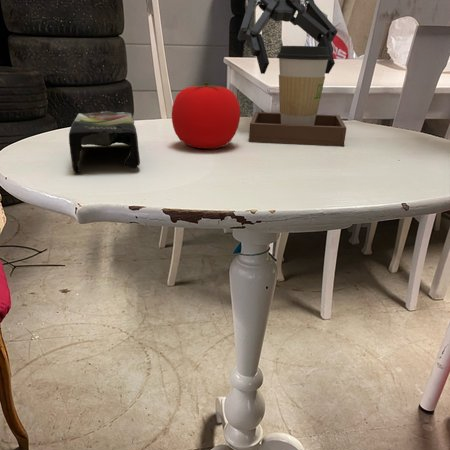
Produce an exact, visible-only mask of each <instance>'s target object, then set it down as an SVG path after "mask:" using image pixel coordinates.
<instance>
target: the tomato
mask: <svg viewBox="0 0 450 450" xmlns="http://www.w3.org/2000/svg"><path fill="white" fill-rule="evenodd" d="M203 83H204V84H203V85H201V84H199V85H198V84H195V85H194V84H193V85H192V84H191V85H189V84H188V85H186V86H188V87H185V88H183V89H181V90H180V91H179V92H178V93H177V95H176V96H175V98H174V101H173V104H172V107H171V122H172V128H173V130H174V134H175V135H176V136H177V138H178V139H179V140H180V141H181V142H182V143H184V144H185V145H187V146H190V147H192V148H196V149H205V150H206V149H207V150H214V149H220V148H222V147H224V146H226V145H227V144H229V143H230V142H231V141H232V140H233V138H234V137H235V136H236V133H237V131H238V129H239V125H240V121H241V115H242V114H241V105H240V103H239V100H238V97H237V96H236V94H235V93H234V92H233V91H232V90H230V89H228V88H227V87H225V86H222V85H216V84H215V85H213V84H209V82H207V81H205V82H203Z"/></svg>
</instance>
